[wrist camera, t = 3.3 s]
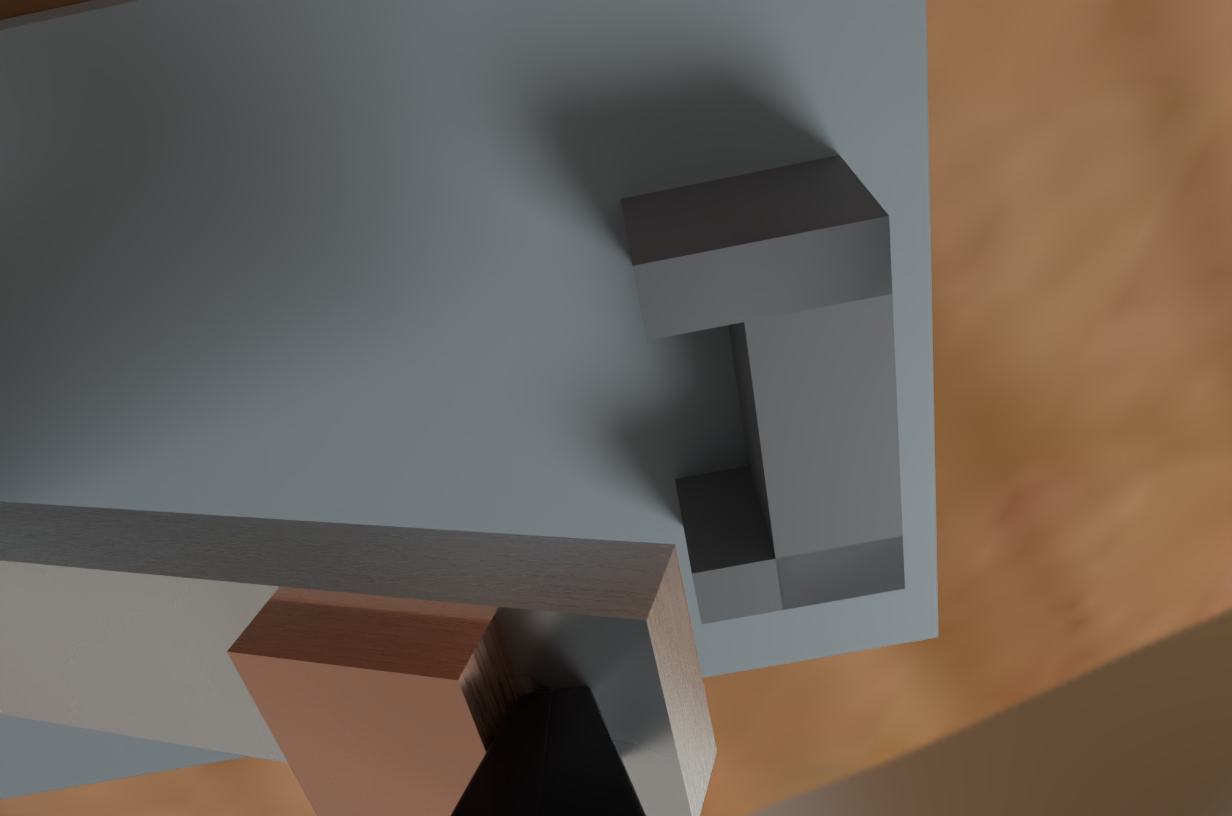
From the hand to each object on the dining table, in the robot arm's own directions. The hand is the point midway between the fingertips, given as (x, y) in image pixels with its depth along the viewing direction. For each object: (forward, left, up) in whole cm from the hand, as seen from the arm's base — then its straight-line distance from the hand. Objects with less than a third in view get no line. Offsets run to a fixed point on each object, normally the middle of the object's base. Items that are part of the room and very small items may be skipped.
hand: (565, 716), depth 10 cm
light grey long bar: (-6, 0, -4) cm, 7 cm away
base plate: (-4, 0, -8) cm, 9 cm away
